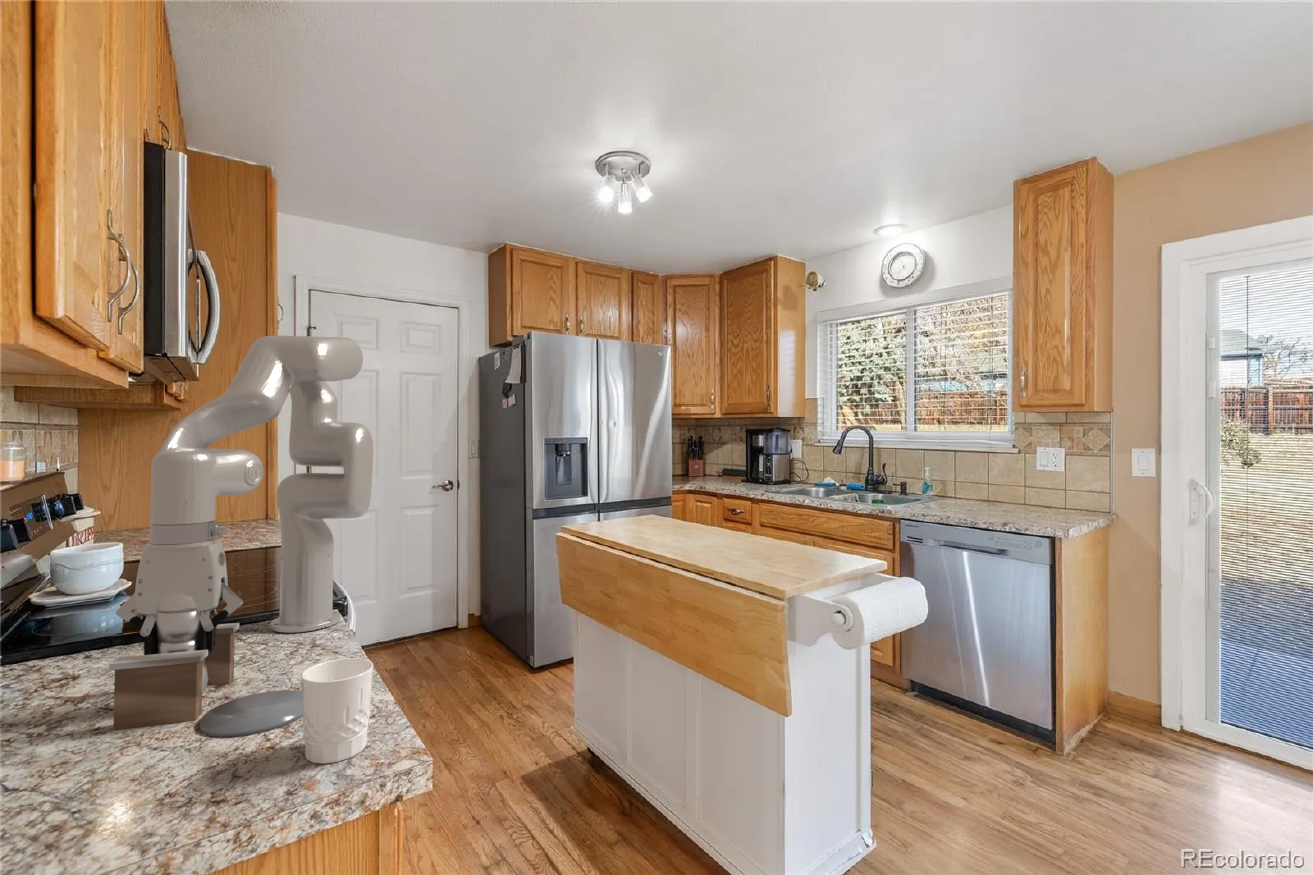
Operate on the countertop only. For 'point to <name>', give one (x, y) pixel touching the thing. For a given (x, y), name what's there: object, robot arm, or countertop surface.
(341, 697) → the white cup
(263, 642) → the countertop surface
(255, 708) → the coaster
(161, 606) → the grey bulging hollow cylinder
